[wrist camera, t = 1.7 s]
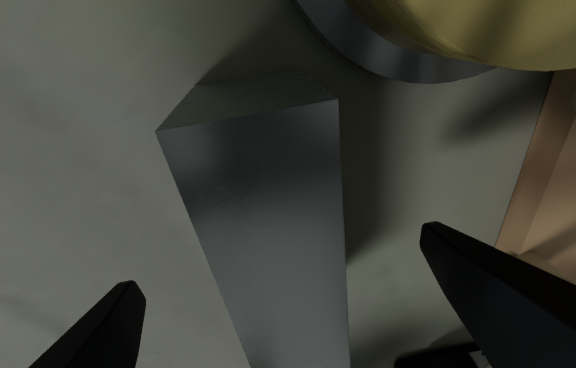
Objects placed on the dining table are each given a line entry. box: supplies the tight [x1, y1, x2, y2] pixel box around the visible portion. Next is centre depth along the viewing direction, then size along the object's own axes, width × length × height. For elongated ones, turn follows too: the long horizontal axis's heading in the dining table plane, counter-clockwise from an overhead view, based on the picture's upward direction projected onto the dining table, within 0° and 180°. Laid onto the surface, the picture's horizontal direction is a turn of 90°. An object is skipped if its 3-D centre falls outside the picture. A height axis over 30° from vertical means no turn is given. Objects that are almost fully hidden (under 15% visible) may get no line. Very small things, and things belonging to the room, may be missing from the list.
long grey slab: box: [155, 67, 350, 368], centre depth 9 cm, size 10×3×4 cm, turn 8°
